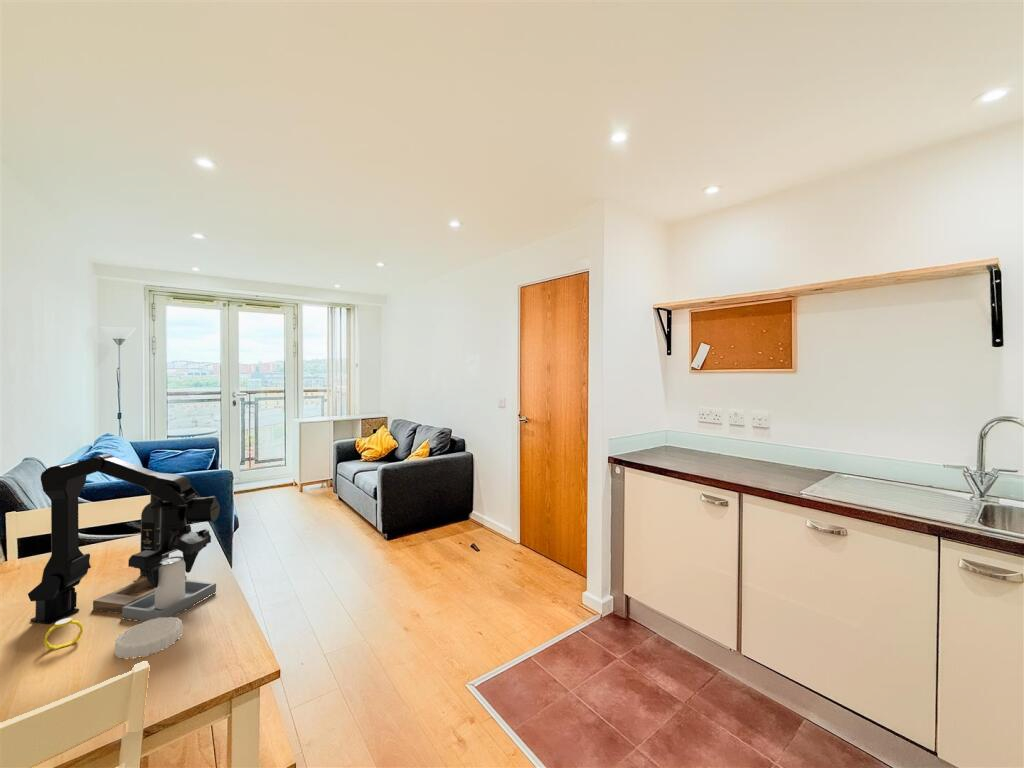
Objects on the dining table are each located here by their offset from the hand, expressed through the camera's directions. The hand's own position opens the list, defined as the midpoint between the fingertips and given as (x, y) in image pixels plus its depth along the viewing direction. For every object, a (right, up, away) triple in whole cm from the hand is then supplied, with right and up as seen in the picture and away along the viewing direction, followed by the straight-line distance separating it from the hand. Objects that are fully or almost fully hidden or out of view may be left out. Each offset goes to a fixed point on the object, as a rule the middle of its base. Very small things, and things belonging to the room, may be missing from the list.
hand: (172, 579), depth 114 cm
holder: (-12, -7, +5) cm, 15 cm away
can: (0, -7, 0) cm, 7 cm away
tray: (0, -7, 0) cm, 7 cm away
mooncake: (+8, -8, -16) cm, 20 cm away
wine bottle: (-22, -7, +20) cm, 30 cm away
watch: (-10, -7, -18) cm, 22 cm away
